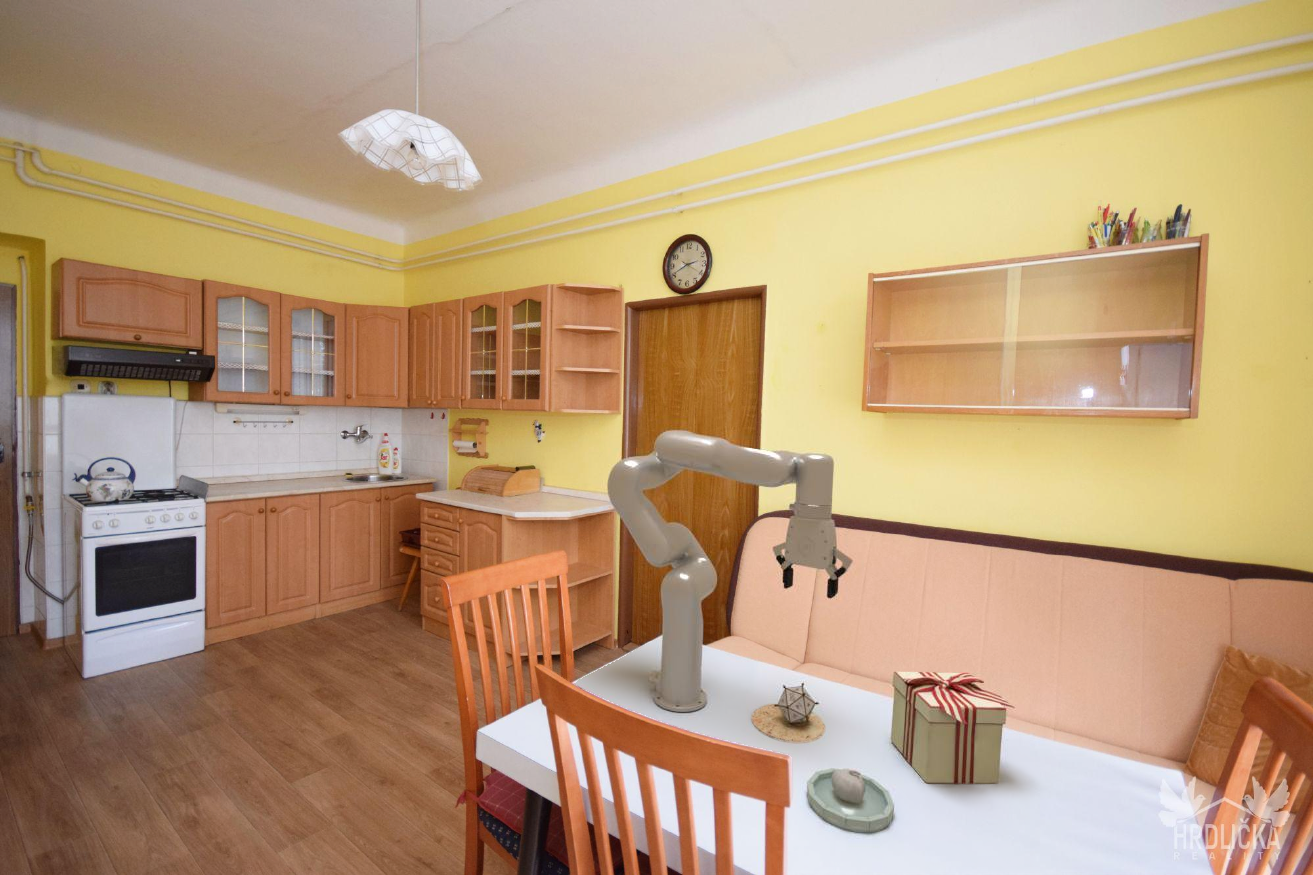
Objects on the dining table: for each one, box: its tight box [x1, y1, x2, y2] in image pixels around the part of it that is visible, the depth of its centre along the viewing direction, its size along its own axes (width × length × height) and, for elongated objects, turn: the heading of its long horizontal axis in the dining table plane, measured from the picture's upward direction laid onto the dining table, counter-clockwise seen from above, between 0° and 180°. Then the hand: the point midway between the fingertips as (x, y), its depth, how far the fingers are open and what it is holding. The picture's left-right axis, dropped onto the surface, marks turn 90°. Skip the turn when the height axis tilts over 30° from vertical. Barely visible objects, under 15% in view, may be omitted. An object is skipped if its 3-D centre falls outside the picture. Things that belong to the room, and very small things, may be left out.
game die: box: [773, 682, 820, 726], centre depth 128 cm, size 9×8×10 cm
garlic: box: [831, 768, 866, 803], centre depth 101 cm, size 6×5×5 cm
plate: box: [806, 767, 895, 834], centre depth 100 cm, size 14×14×2 cm
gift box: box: [890, 671, 1016, 785], centre depth 113 cm, size 17×18×17 cm
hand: (809, 591), depth 123 cm, fingers open, 9 cm apart
